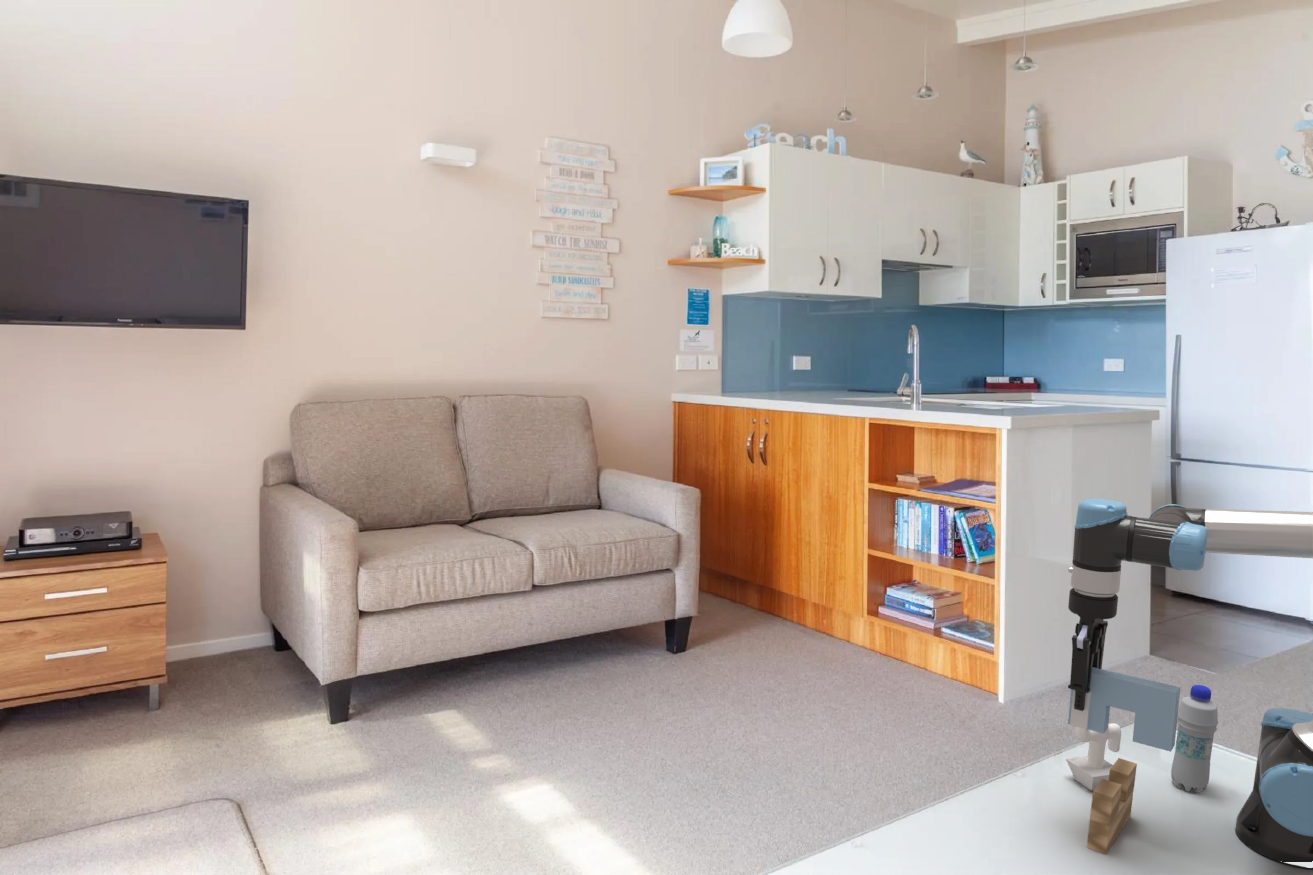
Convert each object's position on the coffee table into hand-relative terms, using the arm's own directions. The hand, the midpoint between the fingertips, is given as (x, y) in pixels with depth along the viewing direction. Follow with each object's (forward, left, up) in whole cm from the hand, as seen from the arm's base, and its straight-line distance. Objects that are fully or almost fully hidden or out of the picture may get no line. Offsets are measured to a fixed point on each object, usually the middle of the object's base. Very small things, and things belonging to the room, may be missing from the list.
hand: (1081, 722), depth 168 cm
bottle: (-13, -29, -18) cm, 36 cm away
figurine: (+1, -17, -18) cm, 25 cm away
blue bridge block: (-6, 0, 0) cm, 6 cm away
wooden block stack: (-6, -1, -18) cm, 19 cm away
